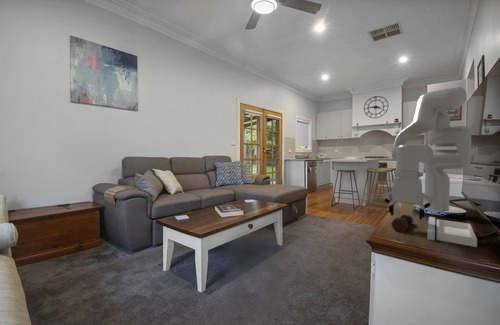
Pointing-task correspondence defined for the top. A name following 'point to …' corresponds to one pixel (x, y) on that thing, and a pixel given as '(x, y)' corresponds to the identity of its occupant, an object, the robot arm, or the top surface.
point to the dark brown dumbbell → (402, 223)
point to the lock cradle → (456, 233)
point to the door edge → (431, 228)
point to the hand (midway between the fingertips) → (406, 216)
